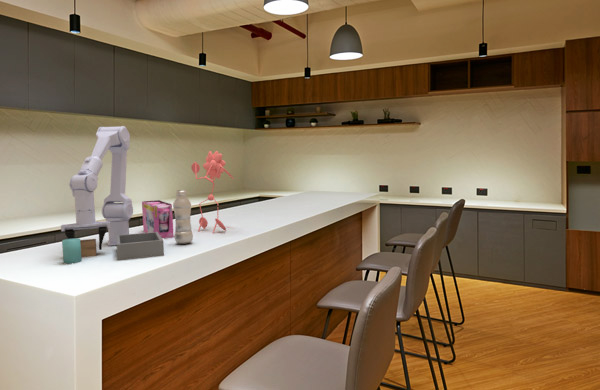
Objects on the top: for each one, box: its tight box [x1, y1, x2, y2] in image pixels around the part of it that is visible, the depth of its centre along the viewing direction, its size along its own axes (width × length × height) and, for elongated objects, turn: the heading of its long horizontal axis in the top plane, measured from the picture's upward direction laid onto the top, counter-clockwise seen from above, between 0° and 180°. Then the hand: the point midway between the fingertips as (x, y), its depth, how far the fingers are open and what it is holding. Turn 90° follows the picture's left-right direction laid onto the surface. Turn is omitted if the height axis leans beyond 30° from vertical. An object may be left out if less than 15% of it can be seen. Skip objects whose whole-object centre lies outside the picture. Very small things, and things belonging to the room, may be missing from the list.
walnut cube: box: [80, 238, 97, 258], centre depth 139 cm, size 5×5×5 cm
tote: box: [116, 232, 165, 261], centre depth 142 cm, size 18×14×5 cm
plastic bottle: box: [172, 189, 194, 245], centre depth 154 cm, size 6×7×20 cm
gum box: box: [141, 199, 175, 239], centre depth 175 cm, size 24×8×14 cm, turn 32°
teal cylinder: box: [61, 237, 83, 265], centre depth 130 cm, size 5×5×7 cm
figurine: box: [190, 150, 235, 235], centre depth 182 cm, size 15×26×35 cm, turn 55°
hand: (87, 250), depth 139 cm, fingers open, 7 cm apart
